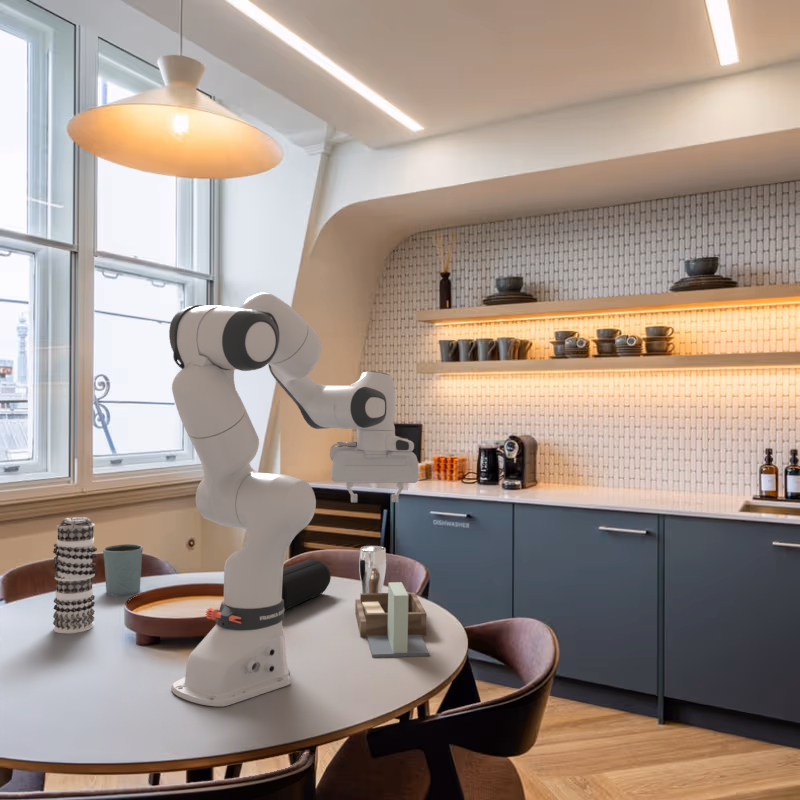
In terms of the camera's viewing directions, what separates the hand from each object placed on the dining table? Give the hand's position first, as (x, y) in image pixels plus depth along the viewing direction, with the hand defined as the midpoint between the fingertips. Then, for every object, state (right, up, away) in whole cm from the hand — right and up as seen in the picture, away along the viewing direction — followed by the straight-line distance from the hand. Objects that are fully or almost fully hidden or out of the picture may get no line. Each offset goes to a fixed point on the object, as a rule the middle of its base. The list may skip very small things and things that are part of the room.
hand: (374, 502), depth 165 cm
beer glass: (-1, -30, +21) cm, 37 cm away
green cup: (-70, -29, +31) cm, 82 cm away
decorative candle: (-69, -29, -1) cm, 75 cm away
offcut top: (0, -28, +6) cm, 29 cm away
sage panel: (+5, -29, -10) cm, 31 cm away
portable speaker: (-22, -30, +21) cm, 43 cm away
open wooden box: (+3, -30, +6) cm, 31 cm away
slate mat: (+5, -30, -10) cm, 32 cm away
